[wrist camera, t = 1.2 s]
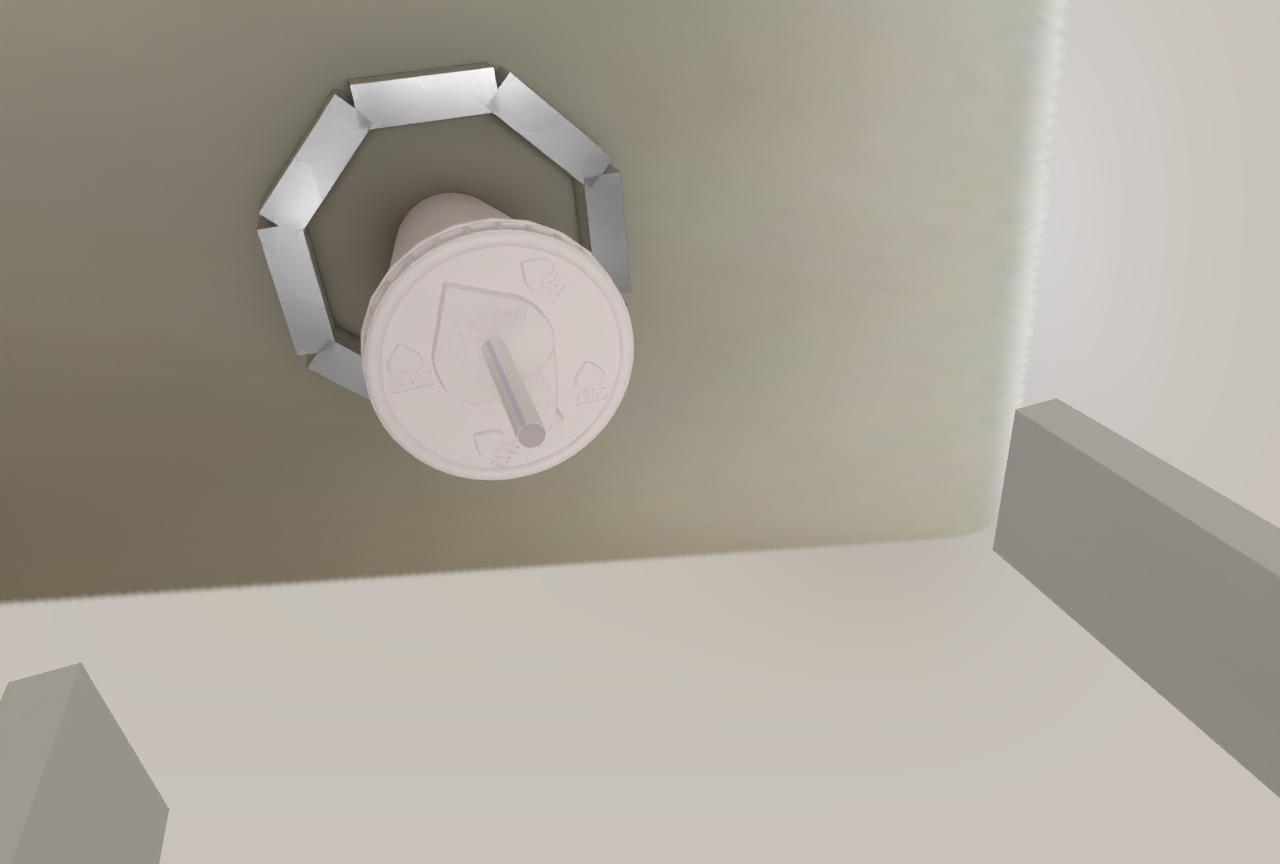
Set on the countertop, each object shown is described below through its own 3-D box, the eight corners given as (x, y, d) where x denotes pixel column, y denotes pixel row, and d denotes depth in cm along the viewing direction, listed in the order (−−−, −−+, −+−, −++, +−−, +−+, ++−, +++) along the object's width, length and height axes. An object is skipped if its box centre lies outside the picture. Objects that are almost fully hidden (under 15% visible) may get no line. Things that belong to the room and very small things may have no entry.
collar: (327, 429, 29) (327, 450, 28) (222, 94, 23) (216, 101, 22) (626, 365, 31) (639, 381, 30) (595, 48, 26) (609, 52, 25)
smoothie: (480, 106, 26) (608, 220, 14) (583, 273, 29) (754, 475, 17) (305, 222, 26) (287, 432, 14) (430, 375, 29) (500, 644, 17)
